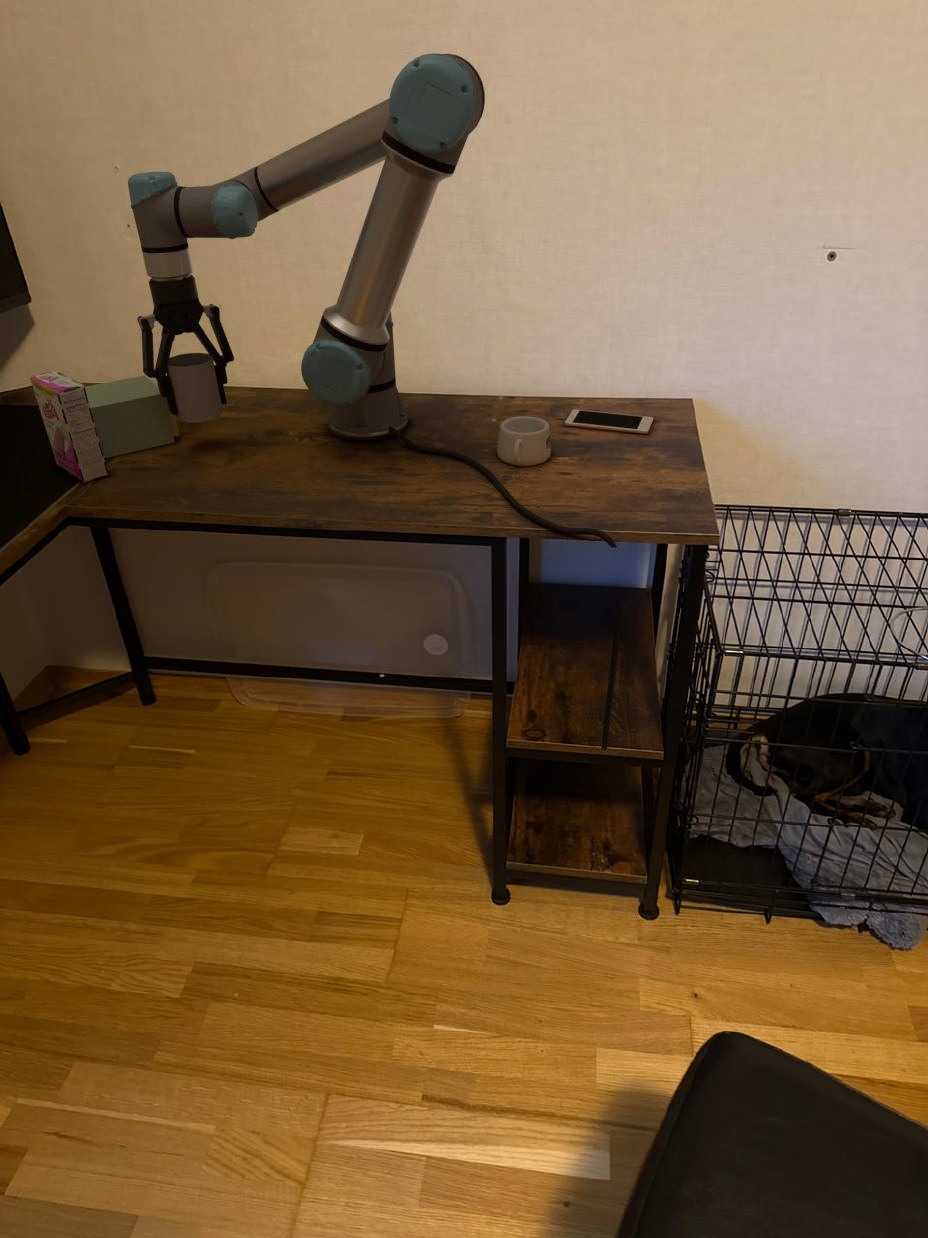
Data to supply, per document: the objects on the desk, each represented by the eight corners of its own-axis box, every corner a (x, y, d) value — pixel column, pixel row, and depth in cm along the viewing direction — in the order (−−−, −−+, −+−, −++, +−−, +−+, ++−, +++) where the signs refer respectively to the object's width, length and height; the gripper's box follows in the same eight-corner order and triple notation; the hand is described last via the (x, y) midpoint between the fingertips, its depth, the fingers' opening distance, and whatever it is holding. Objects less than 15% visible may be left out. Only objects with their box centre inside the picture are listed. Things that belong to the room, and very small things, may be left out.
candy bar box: (54, 466, 155) (27, 376, 146) (81, 458, 158) (56, 369, 149) (82, 484, 148) (56, 391, 139) (110, 475, 151) (85, 383, 142)
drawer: (183, 413, 174) (175, 375, 170) (202, 430, 166) (194, 390, 162) (91, 432, 166) (80, 393, 161) (107, 451, 158) (96, 410, 153)
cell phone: (647, 434, 162) (647, 431, 162) (564, 425, 167) (564, 422, 167) (653, 420, 169) (653, 416, 168) (573, 411, 173) (573, 408, 173)
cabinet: (155, 422, 172) (144, 375, 167) (175, 442, 163) (164, 392, 158) (79, 438, 166) (66, 390, 160) (96, 460, 157) (82, 409, 151)
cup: (210, 423, 153) (199, 367, 148) (168, 421, 155) (155, 366, 149) (230, 407, 160) (220, 353, 155) (189, 405, 162) (178, 351, 156)
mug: (503, 443, 160) (504, 412, 157) (555, 448, 158) (556, 417, 154) (487, 469, 150) (487, 437, 147) (542, 475, 148) (543, 442, 145)
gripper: (223, 263, 152) (245, 389, 164) (100, 281, 142) (134, 414, 155) (239, 270, 146) (260, 400, 159) (112, 290, 137) (146, 426, 149)
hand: (198, 407), depth 157 cm, fingers closed on cup, 8 cm apart
